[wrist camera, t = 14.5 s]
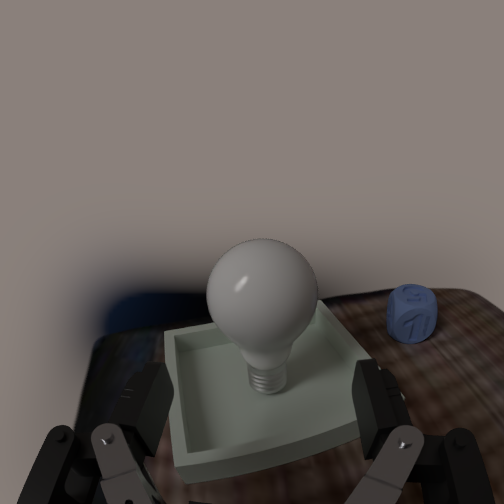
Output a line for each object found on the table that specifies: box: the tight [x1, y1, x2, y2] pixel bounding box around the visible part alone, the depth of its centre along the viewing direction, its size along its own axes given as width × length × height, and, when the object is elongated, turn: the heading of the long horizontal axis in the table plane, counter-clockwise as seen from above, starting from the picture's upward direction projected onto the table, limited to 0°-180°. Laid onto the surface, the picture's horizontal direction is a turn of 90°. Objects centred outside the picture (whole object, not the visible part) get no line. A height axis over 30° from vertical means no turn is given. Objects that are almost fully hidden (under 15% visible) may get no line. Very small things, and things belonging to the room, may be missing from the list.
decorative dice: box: [387, 284, 437, 344], centre depth 25 cm, size 4×4×4 cm
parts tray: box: [164, 300, 405, 484], centre depth 21 cm, size 14×13×2 cm
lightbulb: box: [207, 239, 318, 394], centre depth 19 cm, size 6×6×11 cm
